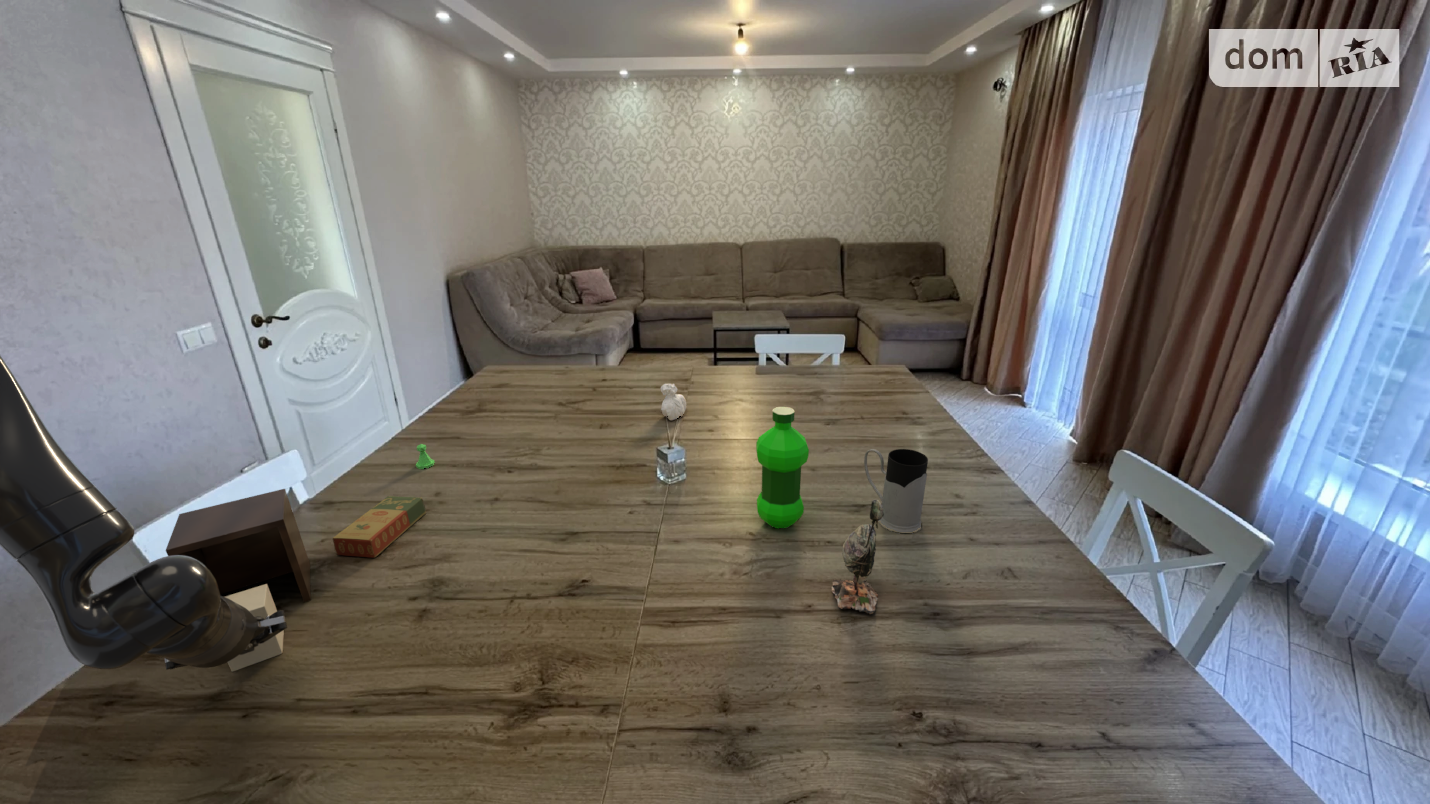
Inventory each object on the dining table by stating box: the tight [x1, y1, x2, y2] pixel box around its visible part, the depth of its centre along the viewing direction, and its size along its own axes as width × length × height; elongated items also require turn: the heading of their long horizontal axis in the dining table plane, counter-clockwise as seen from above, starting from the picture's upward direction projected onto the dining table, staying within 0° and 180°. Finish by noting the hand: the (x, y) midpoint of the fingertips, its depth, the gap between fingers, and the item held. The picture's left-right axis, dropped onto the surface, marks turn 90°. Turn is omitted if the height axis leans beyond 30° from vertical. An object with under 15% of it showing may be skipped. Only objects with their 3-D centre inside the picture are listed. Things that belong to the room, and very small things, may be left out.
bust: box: [660, 382, 687, 421], centre depth 168 cm, size 12×8×11 cm
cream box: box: [225, 583, 285, 673], centre depth 82 cm, size 6×6×9 cm
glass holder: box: [863, 448, 929, 532], centre depth 114 cm, size 9×14×15 cm, turn 39°
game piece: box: [415, 443, 436, 470], centre depth 139 cm, size 4×4×6 cm
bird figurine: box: [831, 498, 884, 615], centre depth 91 cm, size 8×11×20 cm
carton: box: [332, 495, 427, 558], centre depth 111 cm, size 8×16×4 cm, turn 173°
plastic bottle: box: [755, 406, 810, 529], centre depth 110 cm, size 10×10×25 cm
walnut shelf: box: [165, 488, 312, 603], centre depth 92 cm, size 14×12×16 cm
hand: (247, 645), depth 80 cm, fingers closed
